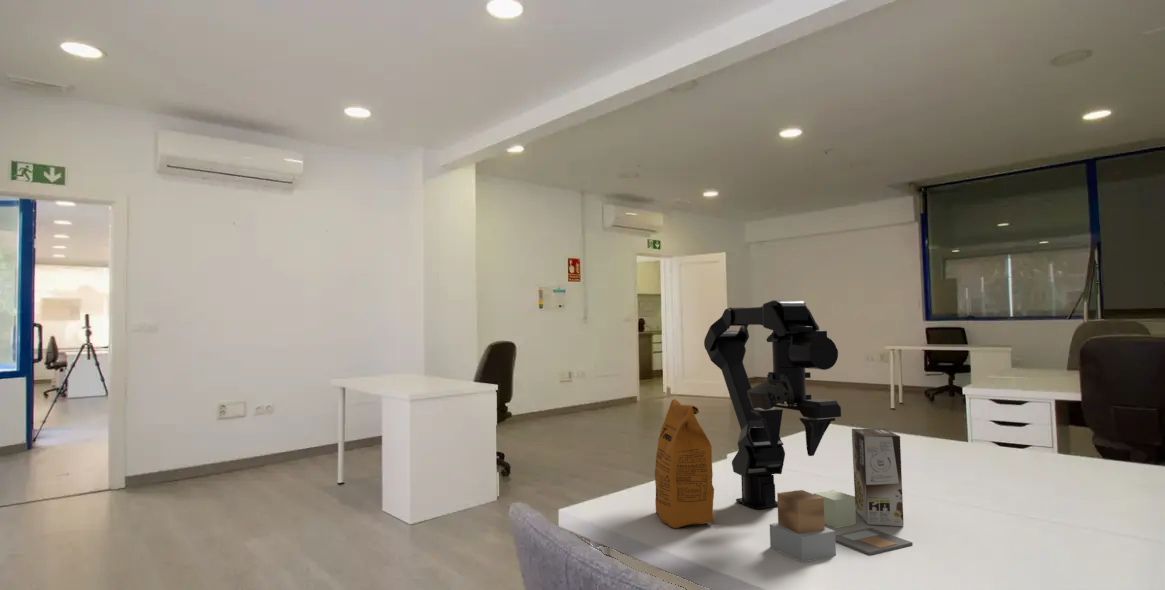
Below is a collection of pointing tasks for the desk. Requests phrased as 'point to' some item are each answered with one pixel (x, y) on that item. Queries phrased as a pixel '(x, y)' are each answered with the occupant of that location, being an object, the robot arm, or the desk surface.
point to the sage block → (838, 508)
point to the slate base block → (803, 543)
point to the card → (871, 541)
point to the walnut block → (801, 511)
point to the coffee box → (877, 476)
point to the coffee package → (683, 469)
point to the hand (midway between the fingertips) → (791, 451)
